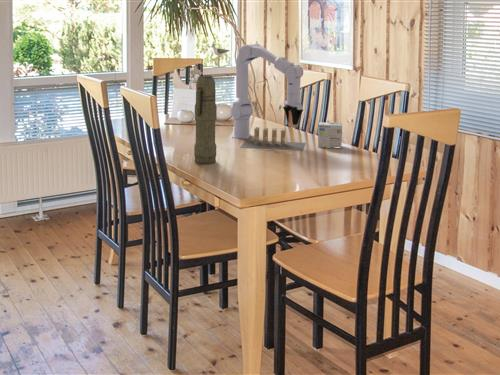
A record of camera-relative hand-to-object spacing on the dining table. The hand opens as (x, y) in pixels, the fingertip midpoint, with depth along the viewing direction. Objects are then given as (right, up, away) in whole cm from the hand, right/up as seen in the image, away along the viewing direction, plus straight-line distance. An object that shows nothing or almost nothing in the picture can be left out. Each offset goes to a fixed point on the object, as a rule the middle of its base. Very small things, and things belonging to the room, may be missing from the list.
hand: (292, 123), depth 349 cm
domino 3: (-8, -9, +4) cm, 13 cm away
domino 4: (-4, -9, +3) cm, 11 cm away
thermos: (-37, -18, -30) cm, 52 cm away
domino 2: (-12, -9, +4) cm, 16 cm away
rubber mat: (-8, -10, +2) cm, 13 cm away
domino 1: (-16, -9, +5) cm, 19 cm away
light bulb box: (+17, -11, +3) cm, 20 cm away
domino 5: (0, -2, 0) cm, 2 cm away
